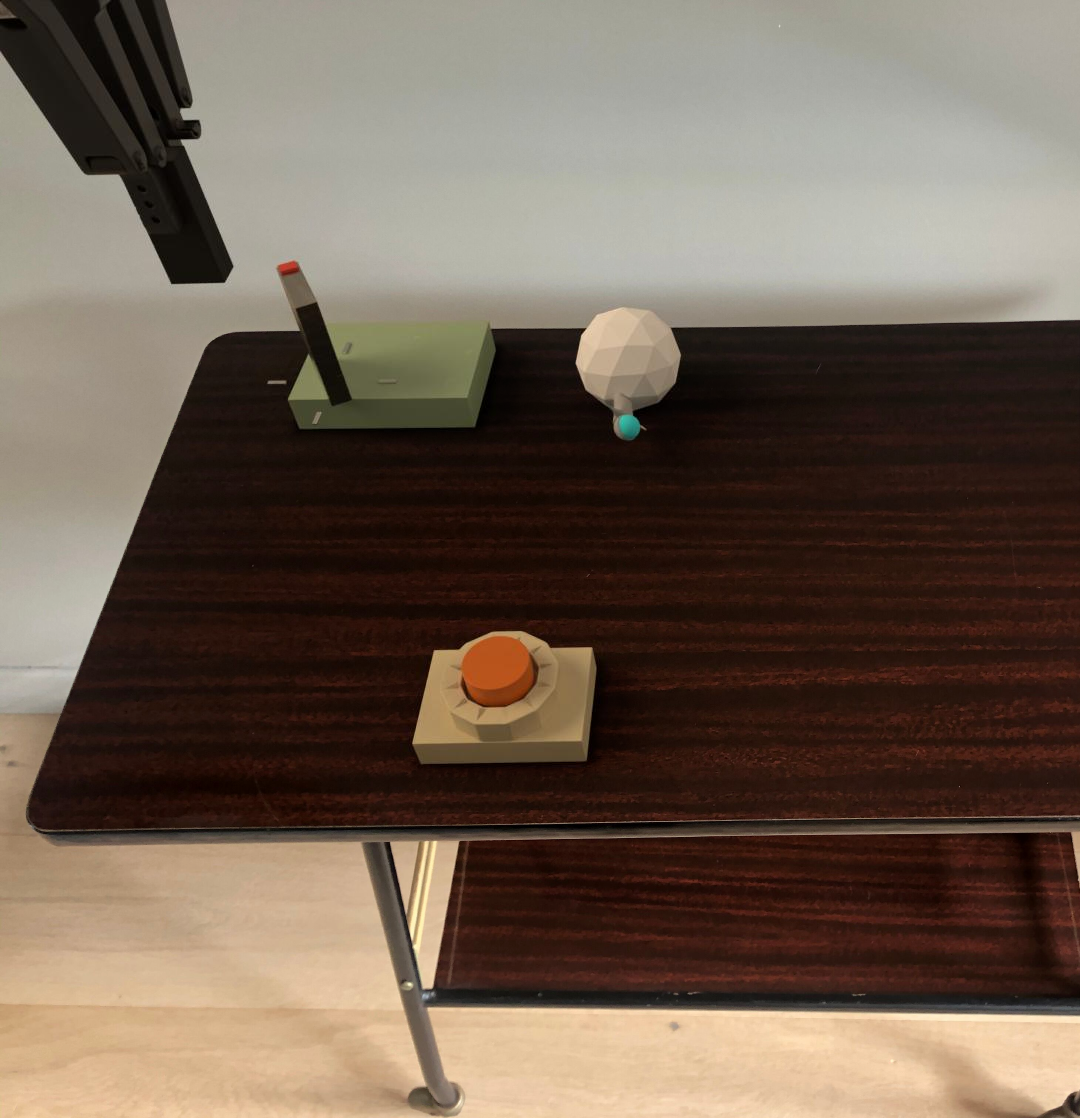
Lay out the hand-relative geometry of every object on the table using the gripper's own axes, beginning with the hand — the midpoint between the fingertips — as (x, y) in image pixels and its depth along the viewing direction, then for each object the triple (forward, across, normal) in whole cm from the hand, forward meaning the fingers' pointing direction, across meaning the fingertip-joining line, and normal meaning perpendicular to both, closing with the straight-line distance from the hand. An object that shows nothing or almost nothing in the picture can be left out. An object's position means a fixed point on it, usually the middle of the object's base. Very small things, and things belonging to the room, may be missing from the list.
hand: (202, 275), depth 57 cm
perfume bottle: (+27, -20, +18) cm, 38 cm away
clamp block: (+26, -23, -3) cm, 35 cm away
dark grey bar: (+23, -21, -6) cm, 32 cm away
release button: (+23, +9, +12) cm, 27 cm away
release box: (+26, +9, +12) cm, 30 cm away
